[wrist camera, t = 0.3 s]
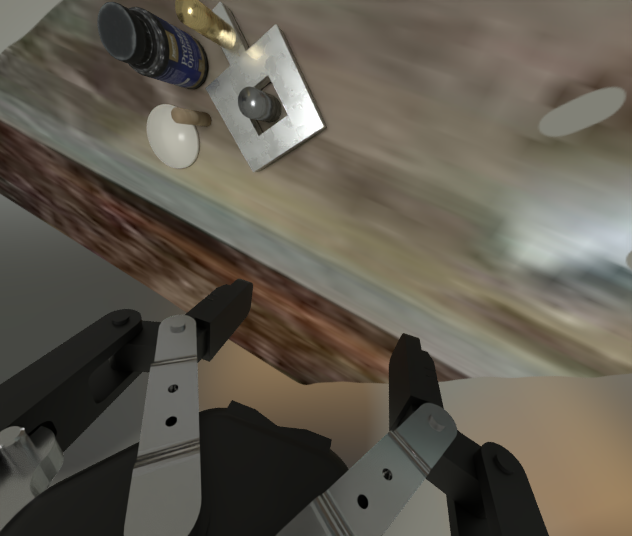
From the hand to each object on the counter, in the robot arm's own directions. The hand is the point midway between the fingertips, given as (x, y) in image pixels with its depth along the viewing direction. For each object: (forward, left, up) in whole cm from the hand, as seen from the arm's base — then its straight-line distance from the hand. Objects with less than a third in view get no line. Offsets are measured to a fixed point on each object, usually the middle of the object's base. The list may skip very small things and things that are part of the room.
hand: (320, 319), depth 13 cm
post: (-8, -17, -28) cm, 34 cm away
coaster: (0, -32, -28) cm, 43 cm away
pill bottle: (-11, -30, -29) cm, 43 cm away
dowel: (-4, -27, -28) cm, 39 cm away
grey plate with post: (-10, -19, -28) cm, 35 cm away
